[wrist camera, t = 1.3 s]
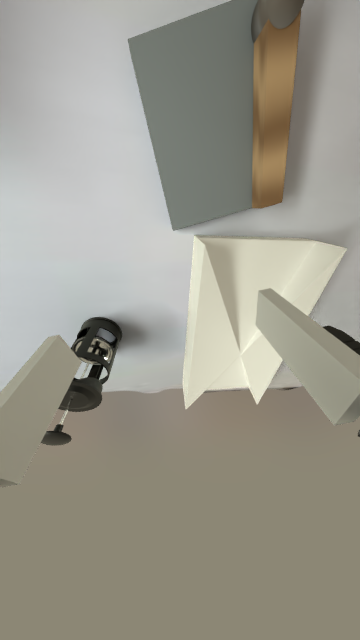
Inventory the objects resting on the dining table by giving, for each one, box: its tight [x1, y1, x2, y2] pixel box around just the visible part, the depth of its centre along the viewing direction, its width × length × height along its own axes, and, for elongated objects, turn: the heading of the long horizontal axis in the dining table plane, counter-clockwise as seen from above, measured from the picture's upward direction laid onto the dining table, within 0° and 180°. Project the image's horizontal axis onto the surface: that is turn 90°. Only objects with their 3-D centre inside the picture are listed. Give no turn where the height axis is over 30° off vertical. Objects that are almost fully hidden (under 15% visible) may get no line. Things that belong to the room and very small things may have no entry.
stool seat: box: [128, 0, 258, 231], centre depth 23 cm, size 18×16×2 cm
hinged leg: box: [251, 0, 304, 208], centre depth 20 cm, size 18×4×3 cm, turn 14°
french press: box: [41, 317, 122, 445], centre depth 32 cm, size 12×9×23 cm
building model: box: [183, 235, 347, 409], centre depth 41 cm, size 45×22×10 cm, turn 178°
